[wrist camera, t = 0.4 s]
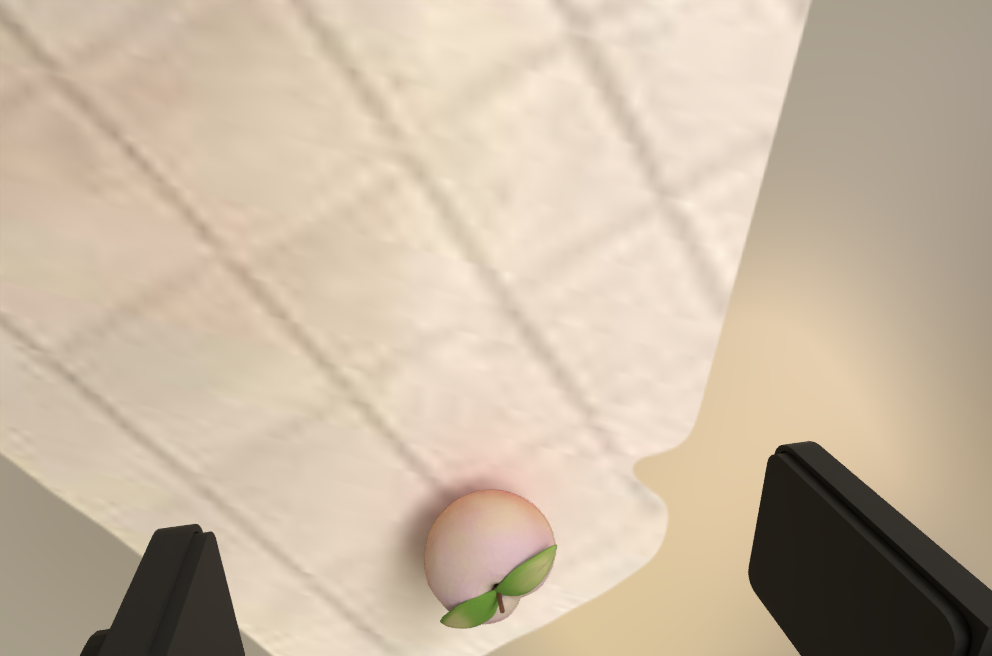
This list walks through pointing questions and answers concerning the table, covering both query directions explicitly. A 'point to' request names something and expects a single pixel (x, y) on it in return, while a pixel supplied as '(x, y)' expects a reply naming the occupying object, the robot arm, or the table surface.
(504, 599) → the decorative fruit
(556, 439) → the table surface
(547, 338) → the table surface
